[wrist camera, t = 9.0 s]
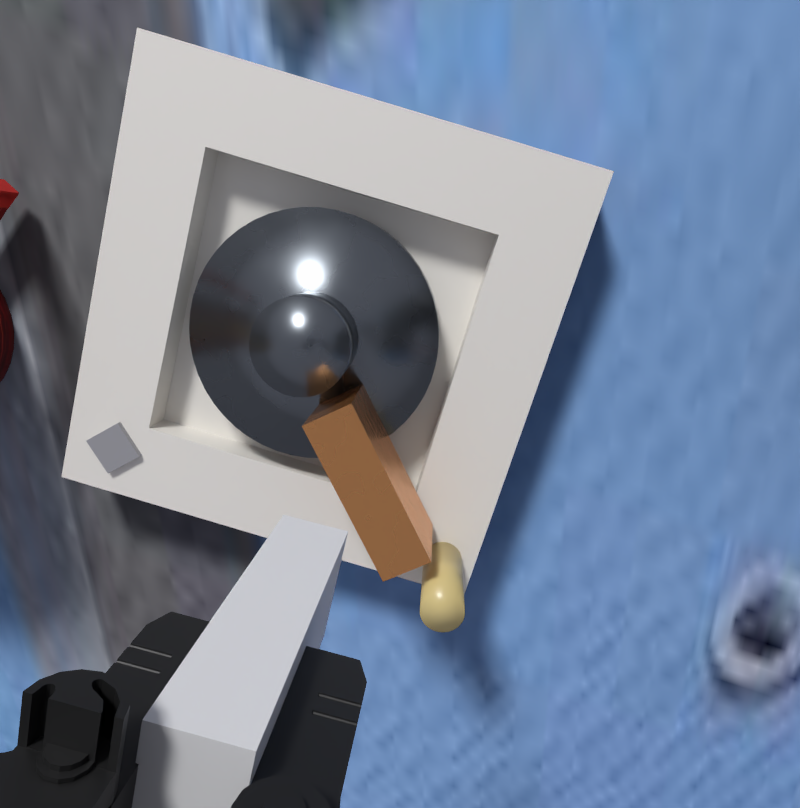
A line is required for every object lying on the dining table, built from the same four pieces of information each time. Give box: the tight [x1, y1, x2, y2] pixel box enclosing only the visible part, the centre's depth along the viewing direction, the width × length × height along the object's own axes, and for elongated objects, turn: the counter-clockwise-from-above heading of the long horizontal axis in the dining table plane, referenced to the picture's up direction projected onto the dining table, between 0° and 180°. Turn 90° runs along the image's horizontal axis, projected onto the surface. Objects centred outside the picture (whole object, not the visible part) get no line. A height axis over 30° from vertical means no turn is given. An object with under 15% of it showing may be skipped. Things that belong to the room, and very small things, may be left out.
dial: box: [189, 207, 439, 582], centre depth 30 cm, size 17×12×6 cm
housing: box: [62, 28, 614, 632], centre depth 31 cm, size 22×22×9 cm
